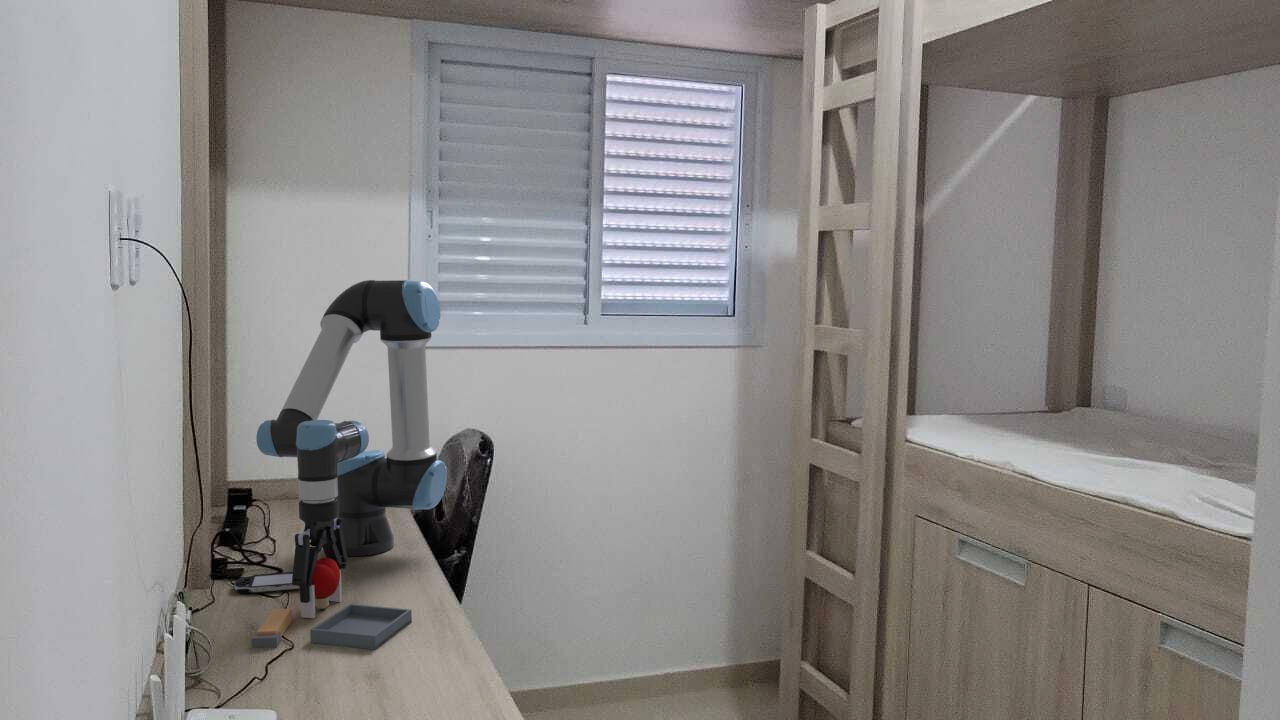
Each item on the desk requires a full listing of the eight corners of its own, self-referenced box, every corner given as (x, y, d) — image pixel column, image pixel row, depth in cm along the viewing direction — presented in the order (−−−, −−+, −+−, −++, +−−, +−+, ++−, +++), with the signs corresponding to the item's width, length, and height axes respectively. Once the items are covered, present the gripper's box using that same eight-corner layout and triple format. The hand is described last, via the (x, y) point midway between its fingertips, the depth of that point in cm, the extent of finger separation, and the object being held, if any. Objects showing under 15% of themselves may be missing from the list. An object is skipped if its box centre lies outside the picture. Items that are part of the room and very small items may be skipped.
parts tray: (350, 616, 203) (350, 603, 203) (411, 622, 200) (411, 609, 200) (310, 642, 190) (310, 629, 190) (375, 649, 187) (375, 636, 186)
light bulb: (326, 619, 202) (324, 569, 201) (293, 616, 203) (291, 567, 202) (349, 602, 211) (347, 555, 210) (317, 600, 212) (315, 553, 211)
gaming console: (330, 578, 229) (330, 567, 228) (329, 590, 220) (329, 579, 220) (237, 585, 224) (237, 573, 223) (232, 598, 215) (231, 586, 215)
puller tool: (271, 621, 201) (270, 609, 201) (294, 620, 201) (293, 608, 201) (251, 649, 187) (251, 635, 187) (276, 648, 187) (276, 635, 187)
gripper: (330, 485, 216) (334, 589, 218) (269, 511, 195) (273, 626, 197) (363, 487, 214) (366, 592, 217) (304, 513, 193) (308, 629, 196)
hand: (321, 608), depth 207 cm, fingers closed on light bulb, 9 cm apart
